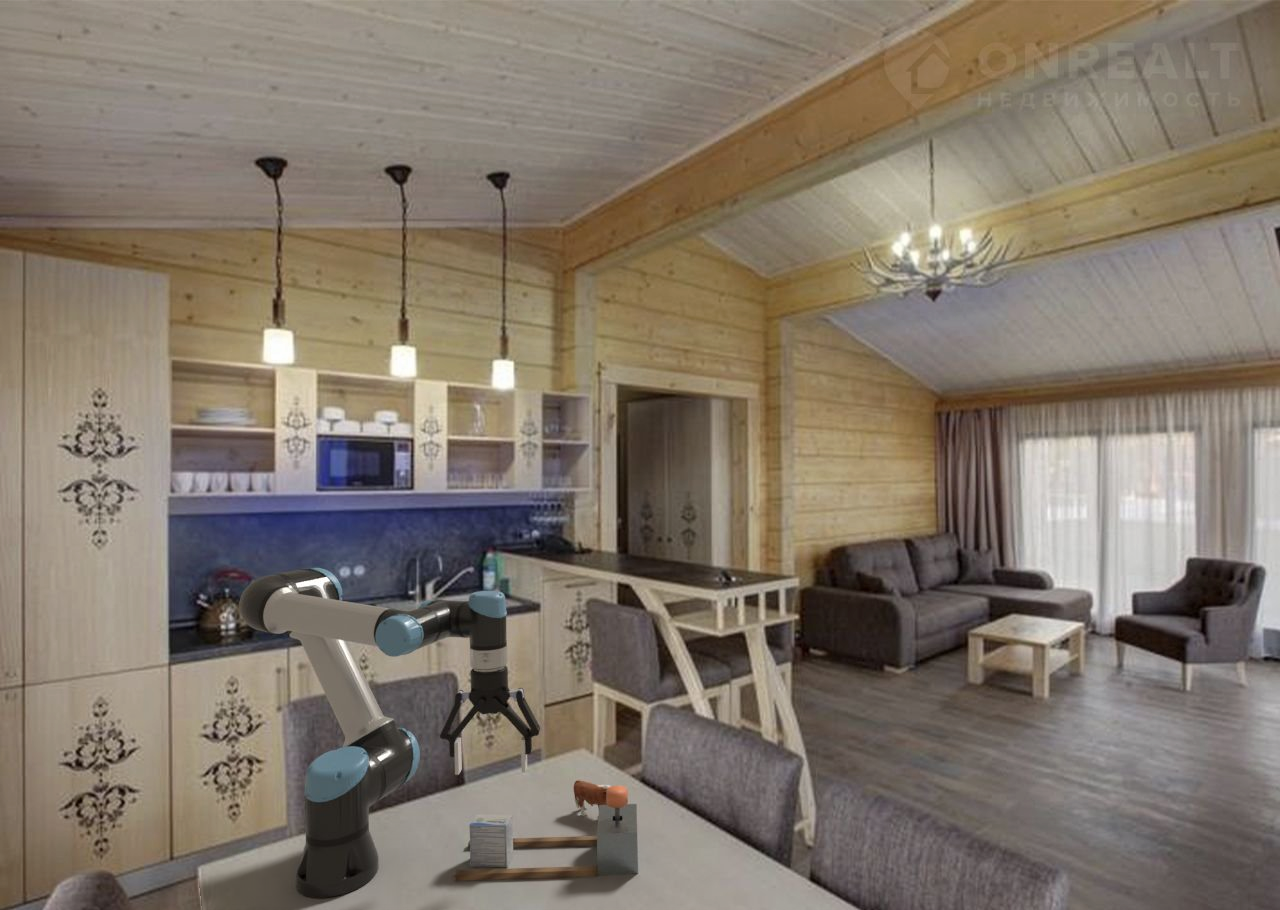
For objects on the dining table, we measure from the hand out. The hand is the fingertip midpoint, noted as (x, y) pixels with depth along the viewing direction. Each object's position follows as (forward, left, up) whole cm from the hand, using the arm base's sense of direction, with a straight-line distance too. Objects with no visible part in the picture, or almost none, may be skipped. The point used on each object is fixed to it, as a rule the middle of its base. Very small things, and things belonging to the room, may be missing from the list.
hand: (491, 770), depth 144 cm
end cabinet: (+26, 0, -18) cm, 32 cm away
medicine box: (0, 0, -19) cm, 19 cm away
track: (+8, 0, -18) cm, 20 cm away
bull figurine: (+21, +18, -19) cm, 33 cm away
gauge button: (+26, 0, -11) cm, 28 cm away
